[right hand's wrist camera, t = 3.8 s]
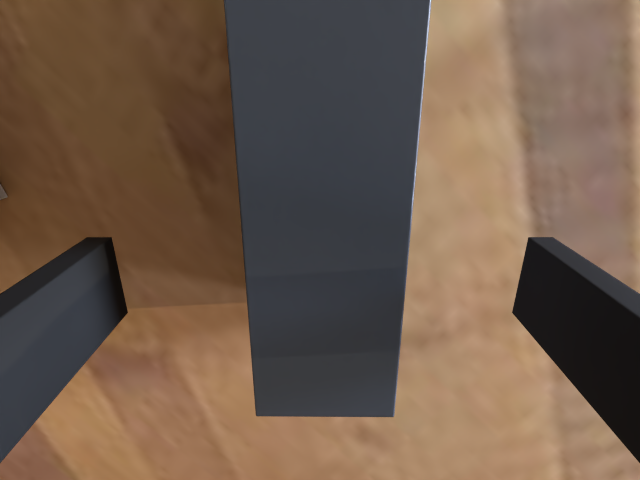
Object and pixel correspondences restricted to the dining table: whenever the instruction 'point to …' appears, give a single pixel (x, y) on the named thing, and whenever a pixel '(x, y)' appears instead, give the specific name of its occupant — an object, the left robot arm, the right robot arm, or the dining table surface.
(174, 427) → the dining table surface
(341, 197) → the bar
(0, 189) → the pale grey block
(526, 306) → the right robot arm
